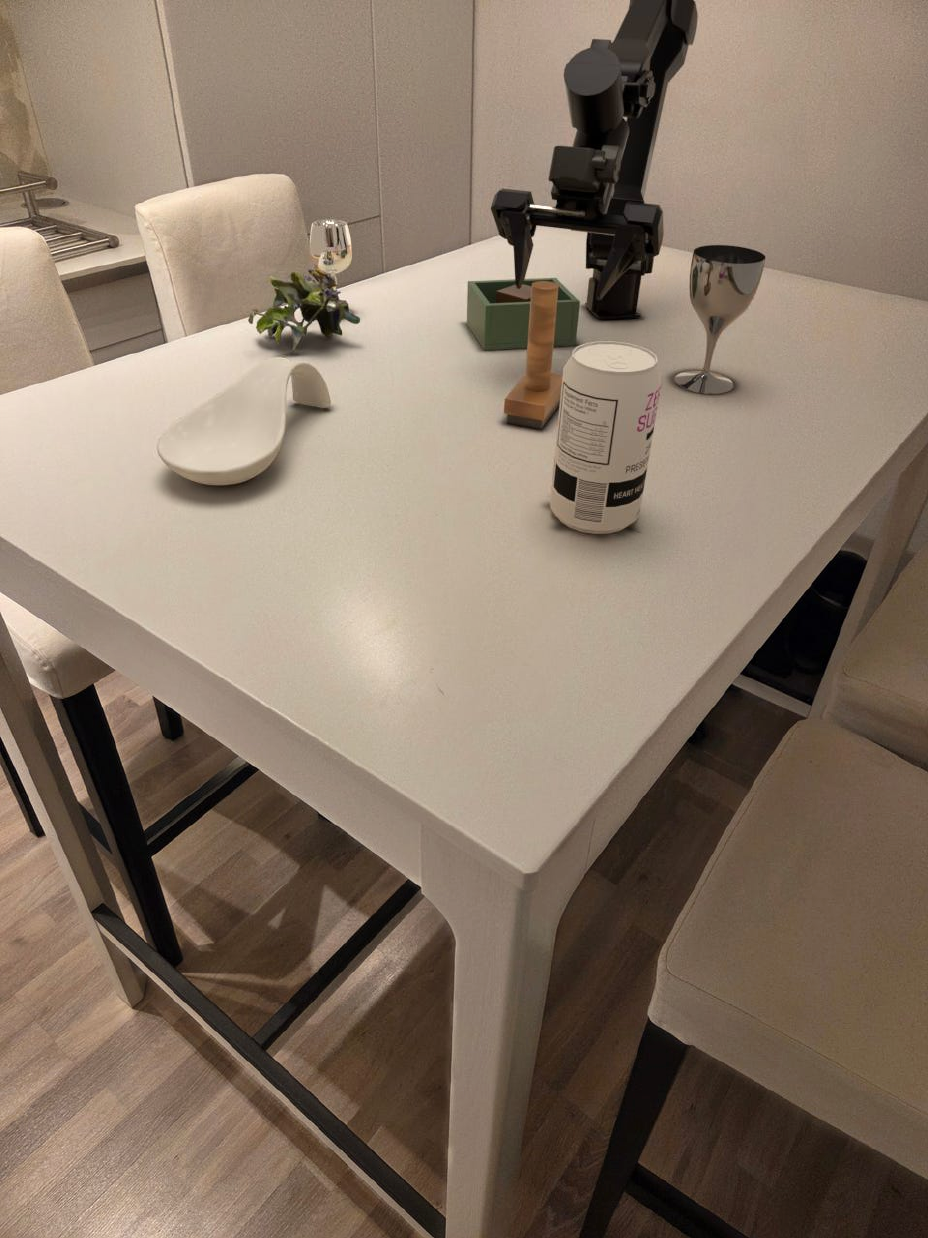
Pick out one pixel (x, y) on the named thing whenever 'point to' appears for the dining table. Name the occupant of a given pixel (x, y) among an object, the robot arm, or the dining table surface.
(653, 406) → the supplement can
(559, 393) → the stamp
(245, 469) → the spoon rest
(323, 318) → the passion flower
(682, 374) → the wine glass
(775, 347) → the dining table surface
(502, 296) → the block
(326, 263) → the wineglass
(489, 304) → the bin
